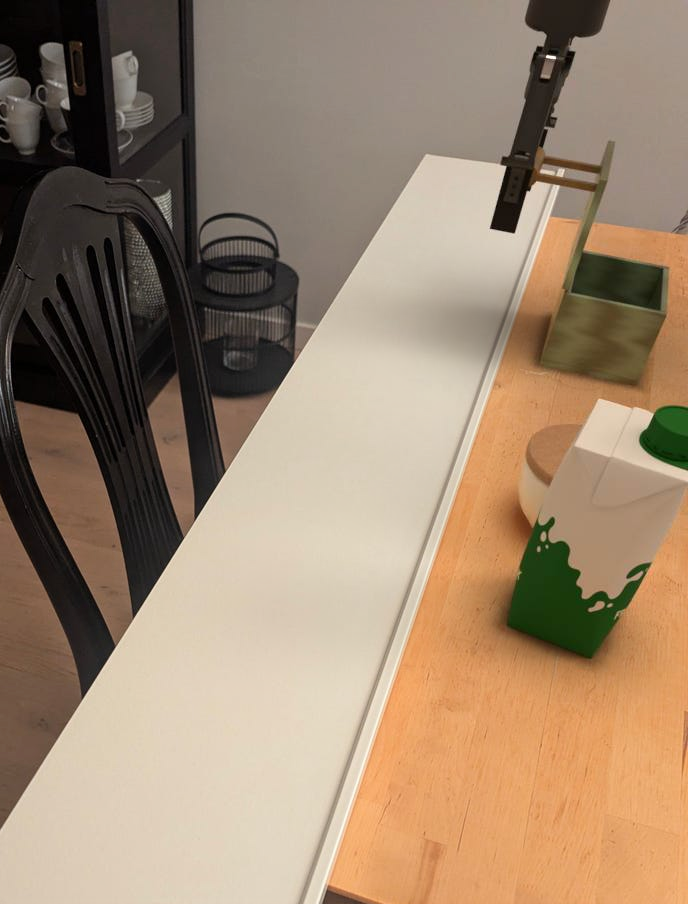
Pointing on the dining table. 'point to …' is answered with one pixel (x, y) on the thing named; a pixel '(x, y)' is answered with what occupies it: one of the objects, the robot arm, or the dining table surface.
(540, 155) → the lid
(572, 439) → the trinket box
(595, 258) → the chest
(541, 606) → the soya milk
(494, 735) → the dining table surface
